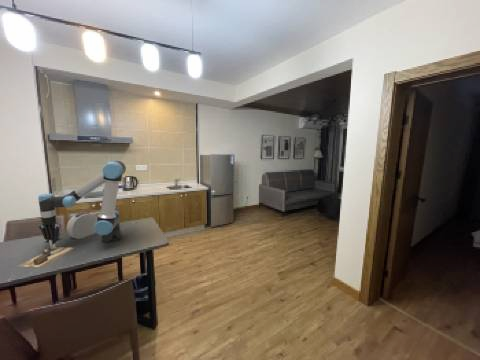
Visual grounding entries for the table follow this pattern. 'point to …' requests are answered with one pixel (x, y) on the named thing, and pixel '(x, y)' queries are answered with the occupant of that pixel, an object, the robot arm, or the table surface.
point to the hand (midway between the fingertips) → (52, 248)
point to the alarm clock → (81, 225)
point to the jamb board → (53, 255)
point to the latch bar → (46, 250)
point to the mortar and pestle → (56, 238)
